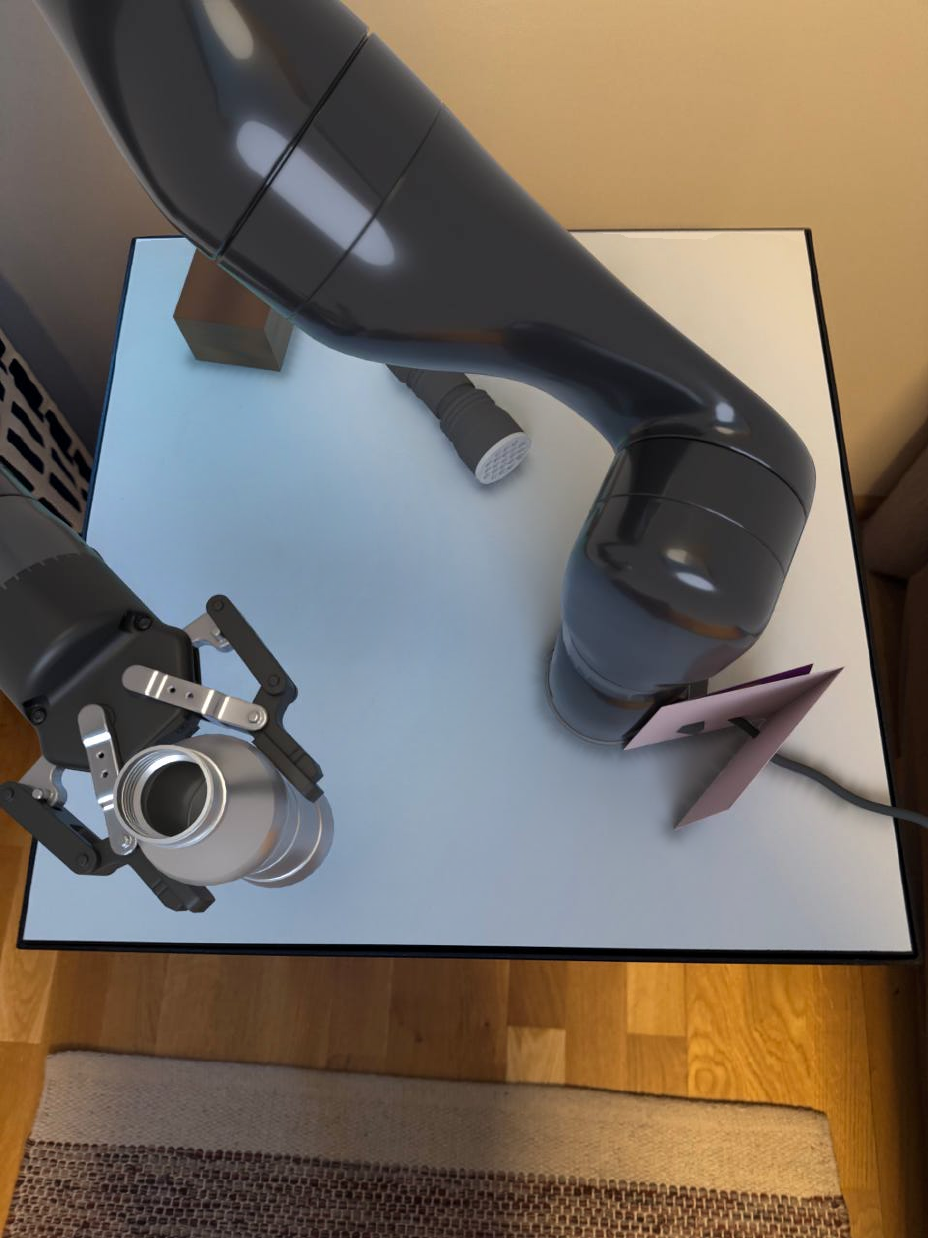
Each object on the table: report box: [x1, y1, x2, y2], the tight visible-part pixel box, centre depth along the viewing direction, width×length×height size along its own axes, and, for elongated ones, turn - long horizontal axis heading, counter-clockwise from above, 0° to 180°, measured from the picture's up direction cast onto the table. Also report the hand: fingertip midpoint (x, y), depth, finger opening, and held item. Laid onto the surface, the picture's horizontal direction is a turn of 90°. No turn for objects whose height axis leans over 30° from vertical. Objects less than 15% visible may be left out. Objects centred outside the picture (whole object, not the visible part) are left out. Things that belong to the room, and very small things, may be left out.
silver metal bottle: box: [113, 733, 335, 889], centre depth 40 cm, size 6×7×20 cm
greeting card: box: [622, 662, 846, 831], centre depth 56 cm, size 11×7×15 cm, turn 102°
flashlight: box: [384, 364, 532, 485], centre depth 71 cm, size 15×5×5 cm, turn 36°
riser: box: [172, 247, 295, 372], centre depth 74 cm, size 8×8×6 cm
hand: (261, 849), depth 38 cm, fingers closed on silver metal bottle, 6 cm apart
